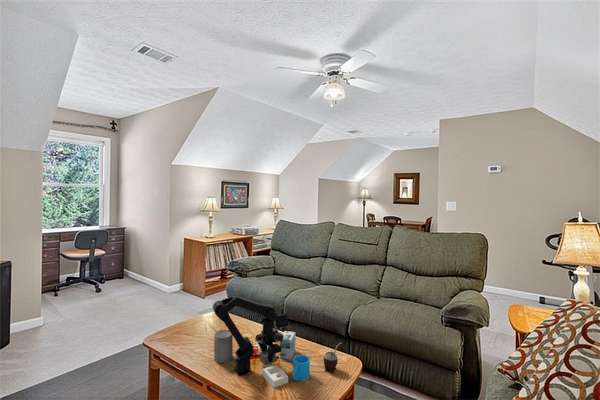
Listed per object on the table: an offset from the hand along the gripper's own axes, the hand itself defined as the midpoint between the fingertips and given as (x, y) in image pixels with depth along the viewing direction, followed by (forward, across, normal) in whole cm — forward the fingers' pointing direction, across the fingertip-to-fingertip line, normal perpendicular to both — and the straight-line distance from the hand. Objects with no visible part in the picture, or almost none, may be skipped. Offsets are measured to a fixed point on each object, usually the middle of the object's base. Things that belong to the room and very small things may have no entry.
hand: (267, 359), depth 162 cm
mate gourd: (+4, -20, -26) cm, 33 cm away
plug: (+3, 0, 0) cm, 3 cm away
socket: (+3, -12, +2) cm, 13 cm away
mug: (+4, -17, -8) cm, 20 cm away
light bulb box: (+4, +5, -15) cm, 16 cm away
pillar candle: (+4, +19, +17) cm, 26 cm away
